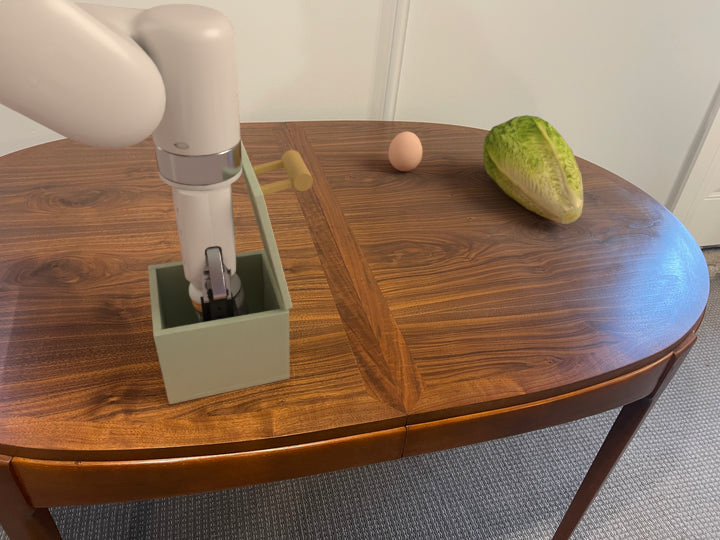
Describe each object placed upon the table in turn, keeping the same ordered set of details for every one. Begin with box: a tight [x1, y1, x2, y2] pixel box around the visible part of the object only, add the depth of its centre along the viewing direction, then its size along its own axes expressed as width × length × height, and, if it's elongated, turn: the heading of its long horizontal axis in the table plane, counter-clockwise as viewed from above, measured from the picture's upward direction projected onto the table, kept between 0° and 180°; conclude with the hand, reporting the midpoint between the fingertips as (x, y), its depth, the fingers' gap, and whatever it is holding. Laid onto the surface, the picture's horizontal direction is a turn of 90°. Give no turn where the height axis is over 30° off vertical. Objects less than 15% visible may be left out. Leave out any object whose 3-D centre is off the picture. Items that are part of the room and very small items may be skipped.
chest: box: [147, 249, 291, 405], centre depth 62 cm, size 14×12×11 cm
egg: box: [387, 131, 424, 172], centre depth 104 cm, size 7×7×8 cm
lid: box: [241, 139, 314, 310], centre depth 56 cm, size 14×12×6 cm
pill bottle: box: [189, 264, 249, 323], centre depth 60 cm, size 6×6×10 cm
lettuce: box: [482, 114, 584, 225], centre depth 98 cm, size 14×24×15 cm
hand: (215, 302), depth 60 cm, fingers closed on pill bottle, 5 cm apart
